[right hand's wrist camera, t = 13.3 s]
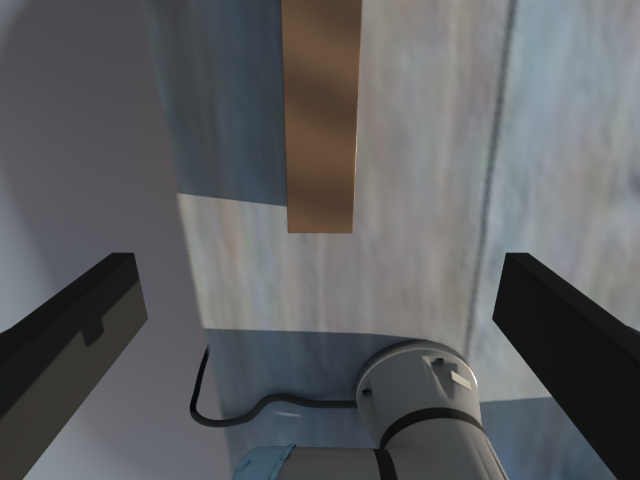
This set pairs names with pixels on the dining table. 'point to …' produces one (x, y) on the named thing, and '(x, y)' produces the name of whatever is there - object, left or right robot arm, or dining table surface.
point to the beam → (321, 112)
